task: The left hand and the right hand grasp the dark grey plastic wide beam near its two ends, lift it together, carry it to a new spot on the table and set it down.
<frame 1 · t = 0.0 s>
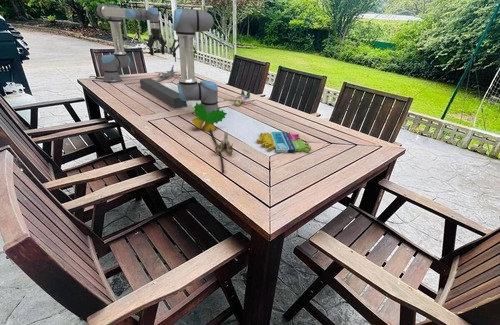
left hand: (157, 54, 235), 28 cm above the table, tool pointing down, fingers open, 13 cm apart
right hand: (184, 61, 211), 28 cm above the table, tool pointing down, fingers open, 13 cm apart
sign: (281, 143, 152), on the table
toy: (241, 101, 221), on the table
ornament: (209, 128, 165), on the table
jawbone: (224, 151, 138), on the table
airplane: (168, 78, 281), on the table
wide beam: (161, 96, 220), on the table
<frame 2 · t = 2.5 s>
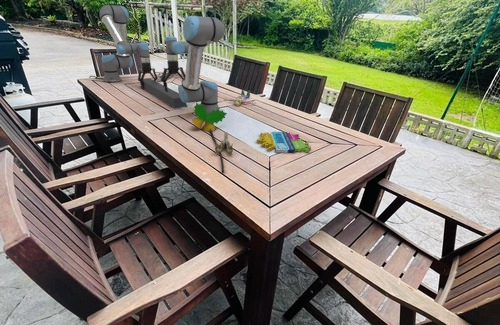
left hand: (149, 88, 238), 1 cm above the table, tool pointing down, fingers closed on wide beam, 10 cm apart
right hand: (175, 90, 197), 11 cm above the table, tool pointing down, fingers open, 13 cm apart
wide beam: (161, 96, 220), on the table, touching left hand
everything else where it was.
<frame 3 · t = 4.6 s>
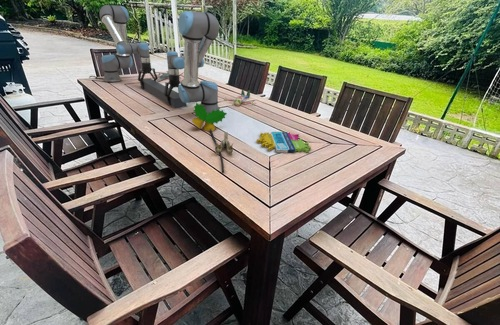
left hand: (149, 88, 238), 1 cm above the table, tool pointing down, fingers closed on wide beam, 10 cm apart
right hand: (176, 104, 202), 1 cm above the table, tool pointing down, fingers closed on wide beam, 10 cm apart
wide beam: (161, 96, 220), on the table, touching right hand, left hand
everything else where it was.
when the right hand's fingers open (2 cm above the table, at t = 10.7 s): wide beam drops 1 cm, on the table.
when the left hand's fingers open (2 cm above the table, at t = 10.8 s): wide beam drops 1 cm, on the table.
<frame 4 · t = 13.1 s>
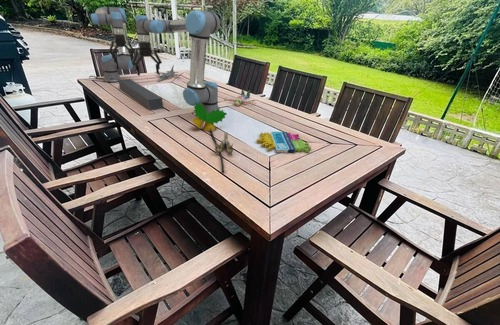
left hand: (123, 62, 220), 23 cm above the table, tool pointing down, fingers open, 13 cm apart
right hand: (148, 74, 184), 23 cm above the table, tool pointing down, fingers open, 13 cm apart
wide beam: (139, 97, 213), on the table
everything else where it was.
at the end: wide beam inside the target area (0.0 cm from its centre), on the table; wide beam tilted 0°; wide beam never tilted more than 1° during the clip; both hands held the wide beam at the same time; the left hand is holding nothing; the right hand is holding nothing; wide beam at rest at the end (0.0 cm/s) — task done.
